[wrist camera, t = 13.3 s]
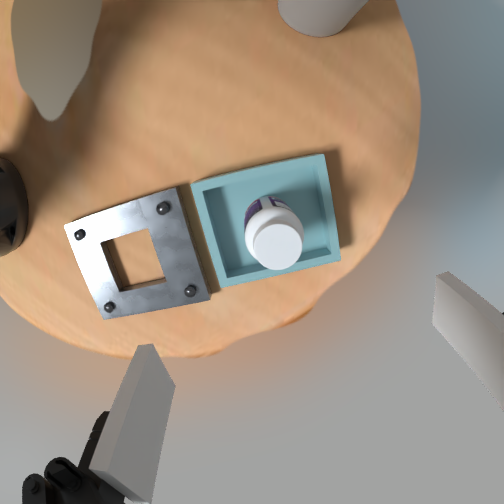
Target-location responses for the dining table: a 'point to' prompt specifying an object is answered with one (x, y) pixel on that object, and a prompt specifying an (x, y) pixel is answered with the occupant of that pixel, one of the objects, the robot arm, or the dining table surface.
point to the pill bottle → (273, 233)
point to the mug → (319, 15)
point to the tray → (259, 185)
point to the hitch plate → (166, 245)
